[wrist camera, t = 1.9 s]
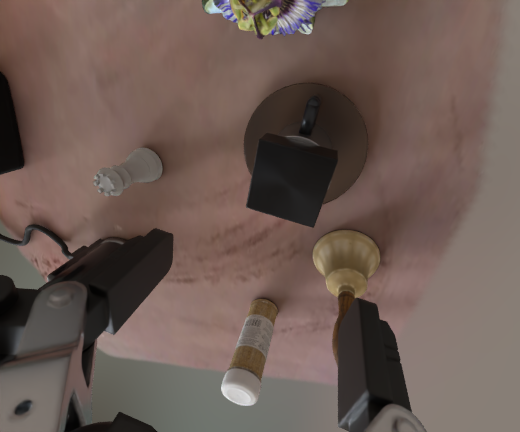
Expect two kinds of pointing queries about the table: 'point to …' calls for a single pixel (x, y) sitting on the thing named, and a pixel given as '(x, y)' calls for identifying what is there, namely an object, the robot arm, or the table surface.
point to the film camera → (8, 132)
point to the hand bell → (345, 268)
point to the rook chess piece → (129, 172)
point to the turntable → (329, 118)
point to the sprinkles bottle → (250, 354)
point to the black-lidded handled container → (293, 169)
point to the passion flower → (270, 14)
